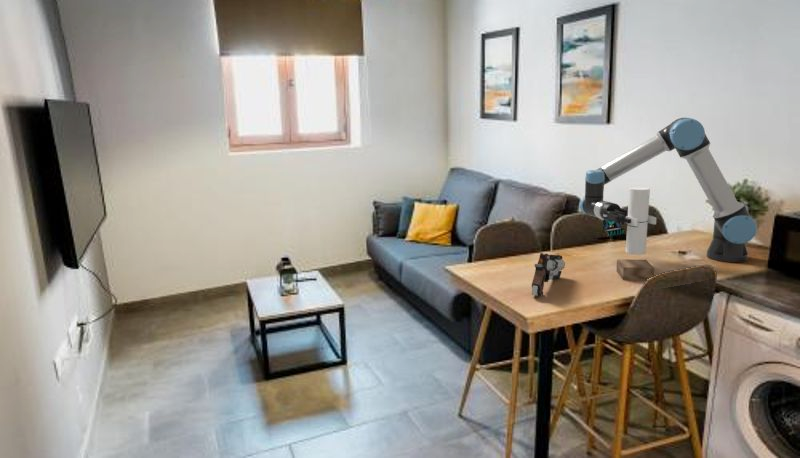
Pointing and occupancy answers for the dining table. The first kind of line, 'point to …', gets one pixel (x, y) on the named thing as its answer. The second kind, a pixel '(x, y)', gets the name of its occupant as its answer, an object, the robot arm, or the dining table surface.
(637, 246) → the cylindrical container
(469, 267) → the dining table surface
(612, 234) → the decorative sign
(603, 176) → the robot arm
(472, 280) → the dining table surface
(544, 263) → the toy gun
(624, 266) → the base block
